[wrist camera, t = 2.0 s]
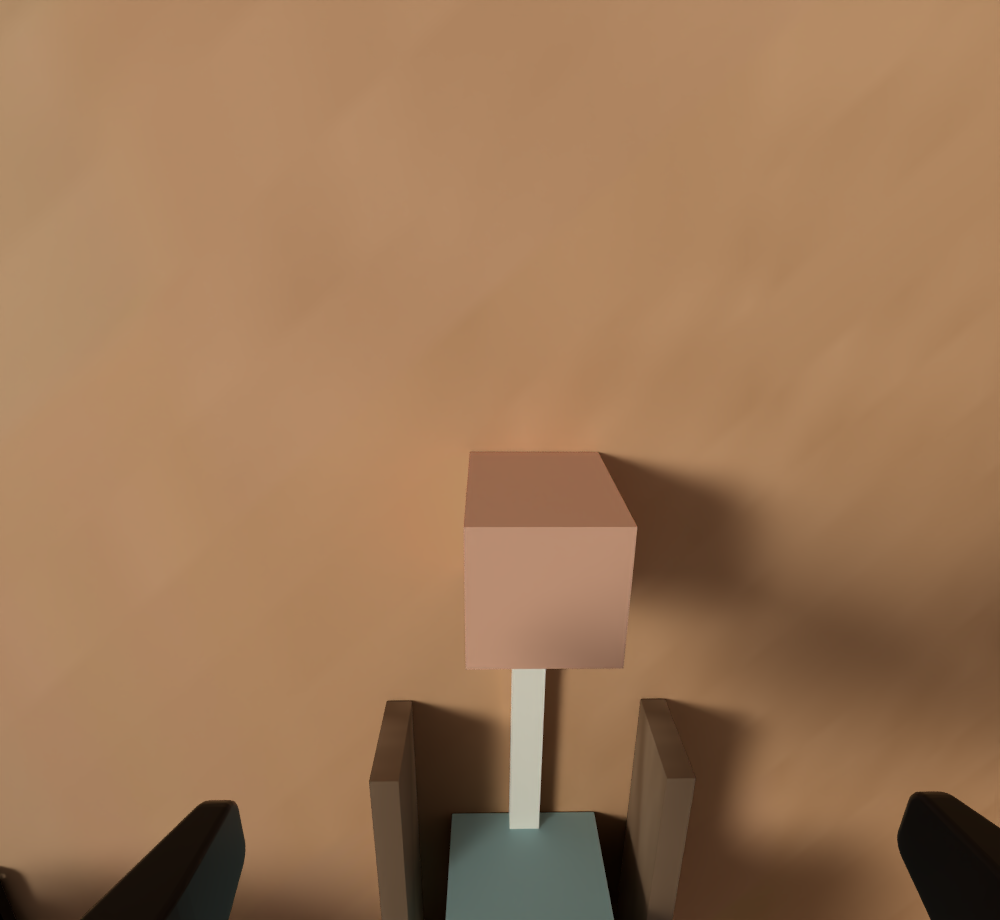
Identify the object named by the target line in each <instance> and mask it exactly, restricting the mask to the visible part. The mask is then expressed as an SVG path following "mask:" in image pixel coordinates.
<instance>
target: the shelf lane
mask: <svg viewBox="0 0 1000 920" xmlns="http://www.w3.org/2000/svg"><path fill="white" fill-rule="evenodd" d="M695 781H696V777H695V775H694V772H693V770H692V767H691V764H690V762H689V759H688V757H687V754H686V752H685V749H684V746H683V744H682V741H681V739H680V736H679V733H678V731H677V728H676V726H675V723H674V721H673V718H672V715H671V713H670V710H669V708H668V705H667V703H666V700H665V699H641V701H640V710H639V718H638V727H637V736H636V744H635V753H634V762H633V771H632V779H631V788H630V797H629V805H628V814H627V823H626V831H625V840H624V849H623V857H622V866H621V875H620V884H619V892H618V901H617V910H616V918H615V920H672V919H673V913H674V907H675V901H676V895H677V889H678V883H679V877H680V871H681V865H682V859H683V853H684V847H685V841H686V835H687V829H688V823H689V817H690V811H691V805H692V799H693V793H694V787H695ZM369 786H370V797H371V808H372V819H373V829H374V840H375V851H376V862H377V873H378V883H379V894H380V905H381V916H382V920H424V914H423V896H422V878H421V860H420V842H419V824H418V805H417V787H416V769H415V751H414V733H413V715H412V701H387V703H386V707H385V712H384V716H383V721H382V725H381V730H380V734H379V739H378V743H377V748H376V753H375V757H374V762H373V766H372V771H371V775H370V780H369Z"/></svg>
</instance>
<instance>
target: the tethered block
mask: <svg viewBox="0 0 1000 920" xmlns="http://www.w3.org/2000/svg"><path fill="white" fill-rule="evenodd" d="M636 536H637V525H636V523H635V521H634V520H633V518H632V516H631V514H630V512H629V510H628V508H627V506H626V504H625V502H624V501H623V499H622V497H621V495H620V493H619V491H618V489H617V487H616V485H615V483H614V481H613V480H612V478H611V476H610V474H609V472H608V470H607V468H606V466H605V464H604V462H603V461H602V459H601V457H600V455H599V453H598V452H470V458H469V469H468V481H467V493H466V505H465V517H464V586H465V654H466V669H512V684H511V737H510V790H509V813H464V814H452V826H451V842H450V858H449V874H448V890H447V906H446V920H614V917H613V912H612V907H611V901H610V896H609V890H608V885H607V880H606V874H605V869H604V864H603V858H602V853H601V847H600V842H599V837H598V831H597V826H596V821H595V815H594V812H549V813H539V812H540V789H541V766H542V743H543V720H544V697H545V674H546V669H597V668H623V666H624V656H625V646H626V636H627V626H628V616H629V606H630V596H631V586H632V576H633V566H634V556H635V546H636Z"/></svg>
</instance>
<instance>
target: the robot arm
mask: <svg viewBox="0 0 1000 920" xmlns="http://www.w3.org/2000/svg"><path fill="white" fill-rule="evenodd" d="M897 841H898V847H899V851H900V854H901V856H902V859H903V861H904V863H905V865H906V867H907V869H908V872H909V874H910V876H911V878H912V880H913V882H914V885H915V887H916V889H917V891H918V893H919V895H920V897H921V900H922V902H923V904H924V906H925V908H926V910H927V912H928V915H929V917H930V919H931V920H1000V828H999V827H998V826H996V825H995V824H993V823H992V822H990V821H989V820H987V819H986V818H985V817H983V816H982V815H980V814H979V813H977V812H976V811H974V810H973V809H971V808H970V807H968V806H967V805H965V804H964V803H963V802H961V801H960V800H958V799H957V798H955V797H953V796H952V795H950V794H948V793H945V792H915V793H914V794H912V795H911V796H910V798H909V801H908V804H907V807H906V809H905V812H904V815H903V818H902V821H901V824H900V827H899V830H898V834H897ZM244 858H245V839H244V834H243V829H242V824H241V819H240V814H239V809H238V806H237V804H236V803H235V802H234V801H231V800H209V801H205V802H203V803H201V804H199V805H198V806H197V807H196V808H195V809H194V810H193V811H192V812H190V813H189V814H188V815H187V816H186V817H185V818H184V819H183V820H182V821H181V822H180V823H179V824H178V825H177V826H176V827H175V828H174V829H173V830H172V831H171V832H170V833H169V834H168V835H167V836H166V837H165V838H164V839H163V840H162V841H160V842H159V843H158V844H157V845H156V846H155V847H154V848H153V849H152V850H151V851H150V852H149V853H148V854H147V855H146V856H145V857H144V858H143V859H142V860H141V861H140V862H139V863H138V864H137V865H136V866H135V867H134V868H133V869H132V870H131V871H129V872H128V873H127V874H126V875H125V876H124V877H123V878H122V879H121V880H120V881H119V882H118V883H117V884H116V885H115V886H114V887H113V888H112V889H111V890H110V891H109V892H108V893H107V894H106V895H105V896H104V897H103V898H102V899H101V900H99V901H98V902H97V903H96V904H95V905H94V906H93V907H92V908H91V909H90V910H89V911H88V912H87V913H86V914H85V915H84V916H83V917H82V918H81V919H80V920H228V919H229V916H230V912H231V908H232V905H233V901H234V897H235V893H236V890H237V886H238V882H239V879H240V875H241V871H242V868H243V864H244ZM0 920H16V918H15V915H14V913H13V910H12V908H11V906H10V903H9V901H8V898H7V896H6V894H5V891H4V889H3V887H2V884H1V882H0Z"/></svg>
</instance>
